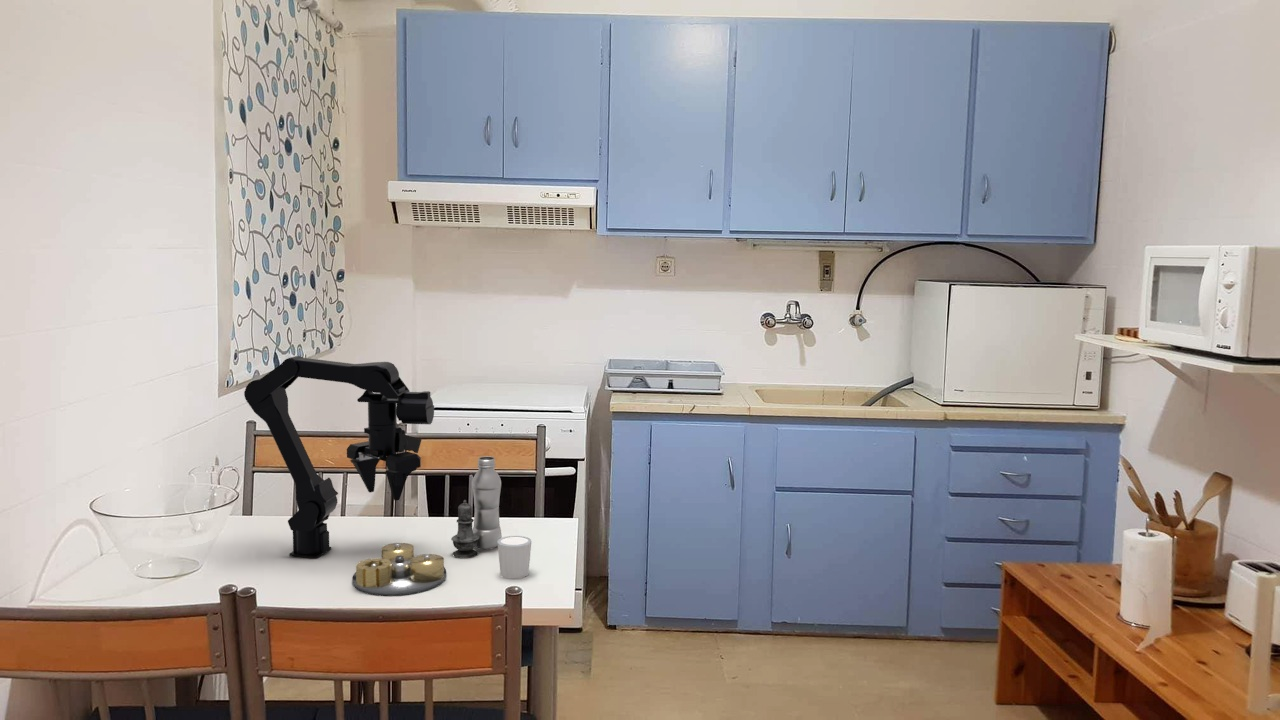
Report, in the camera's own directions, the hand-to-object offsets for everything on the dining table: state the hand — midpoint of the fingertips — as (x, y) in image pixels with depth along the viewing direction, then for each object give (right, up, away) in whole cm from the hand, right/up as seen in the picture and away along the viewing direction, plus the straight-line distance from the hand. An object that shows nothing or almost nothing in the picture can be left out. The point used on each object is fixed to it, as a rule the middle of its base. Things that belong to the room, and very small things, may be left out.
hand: (383, 496), depth 199 cm
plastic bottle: (+20, -13, +8) cm, 25 cm away
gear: (+3, -14, -16) cm, 22 cm away
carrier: (+6, -15, -12) cm, 20 cm away
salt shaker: (+16, -13, +4) cm, 21 cm away
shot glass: (+28, -15, -8) cm, 33 cm away
